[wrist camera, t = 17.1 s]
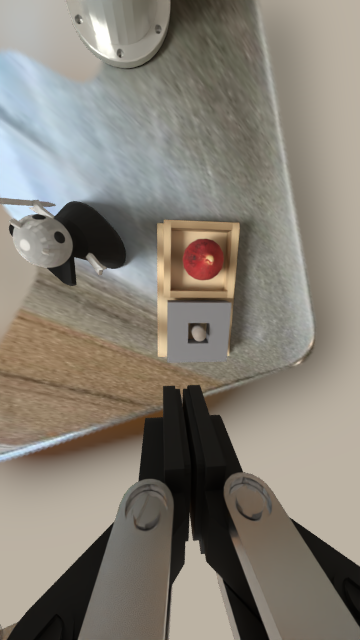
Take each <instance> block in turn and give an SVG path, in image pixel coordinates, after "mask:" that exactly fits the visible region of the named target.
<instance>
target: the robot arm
mask: <svg viewBox="0 0 360 640" xmlns="http://www.w3.org/2000/svg"><path fill="white" fill-rule="evenodd" d="M65 2H66V6H67V9H68V12H69V15H70V18H71V21H72V23H73V26H74V28H75V30H76V32H77V34H78V35H79V37H80V39H81V40H82V42H83V43H84V44H85V46H86V47H87V48H88V49H89V50H90V51H91V52H92V53H93V54H94V55H95V56H96V57H97V58H99V59H100V60H102V61H103V62H105V63H107V64H109V65H112V66H114V67H120V68H133V67H136V66H140V65H142V64H144V63H145V62H147V61H149V60H150V59H151V58H152V57H153V56H154V55H155V54H156V53H157V52H158V50H159V49H160V47H161V45H162V44H163V41H164V39H165V37H166V34H167V30H168V26H169V20H170V0H65ZM189 515H190V519H191V527H192V536H193V540H194V541H195V540H199V544H200V551H201V554H205V556H206V561H207V563H208V564H209V565H210V566H211V567H212V568H213V569H214V570H215V571H216V573H217V579H218V584H219V587H220V591H221V594H222V598H223V601H224V604H225V608H226V612H227V615H228V619H229V623H230V626H231V630H232V633H233V636H234V640H360V566H358V565H356V564H355V563H354V562H352V561H351V560H349V559H348V558H347V557H345V556H344V555H342V554H341V553H340V552H338V551H337V550H335V549H334V548H332V547H331V546H330V545H328V544H327V543H325V542H324V541H322V540H321V539H320V538H318V537H317V536H315V535H314V534H312V533H311V532H310V531H308V530H307V529H305V528H304V527H302V526H301V525H300V524H298V523H297V522H295V521H294V520H293V519H291V518H290V517H289V516H288V515H287V513H286V512H285V510H284V509H283V507H282V505H281V504H280V502H279V501H278V499H277V498H276V496H275V494H274V493H273V491H272V490H271V489H270V488H269V486H268V485H267V484H266V483H265V482H264V481H262V480H261V479H260V478H258V477H256V476H254V475H252V474H249V473H245V472H243V471H242V468H241V466H240V463H239V461H238V458H237V456H236V453H235V451H234V448H233V446H232V443H231V441H230V438H229V436H228V433H227V431H226V428H225V426H224V423H223V421H222V418H221V416H220V415H209V412H208V409H207V406H206V403H205V400H204V396H203V393H202V390H201V387H200V385H188V386H187V389H183V407H182V400H181V394H180V389H175V386H163V417H161V418H146V419H145V426H144V435H143V444H142V453H141V463H140V473H139V481H138V482H137V483H135V484H134V485H132V486H131V487H130V488H129V489H128V490H127V492H126V493H125V494H124V496H123V498H122V500H121V502H120V505H119V509H118V512H117V515H116V518H115V521H114V522H113V523H112V525H111V526H110V527H109V528H108V529H107V530H106V531H105V532H104V533H103V534H102V535H101V536H100V537H99V538H98V539H97V540H96V541H95V542H94V543H93V544H92V545H91V546H90V547H89V548H88V549H87V550H86V551H85V552H84V553H83V554H82V556H81V557H79V558H78V560H77V561H76V562H75V563H74V564H73V565H72V566H71V567H70V568H69V569H68V570H67V571H66V572H65V573H64V574H63V575H62V576H61V577H60V578H59V579H58V580H57V581H56V582H55V583H54V585H52V586H51V587H50V588H49V589H48V590H47V592H46V593H45V594H44V595H43V596H42V597H41V598H40V599H39V600H38V601H37V602H36V603H35V604H34V605H33V606H32V607H31V608H30V609H29V610H28V611H27V612H26V613H25V615H24V616H23V617H22V618H21V620H20V621H19V622H17V623H15V624H13V625H11V626H8V627H6V628H4V629H2V627H1V625H0V640H169V631H170V616H171V600H172V584H173V582H174V581H175V579H176V577H177V575H178V574H179V572H180V570H181V569H182V567H183V565H184V562H185V561H184V560H185V541H188V538H189Z"/></svg>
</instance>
